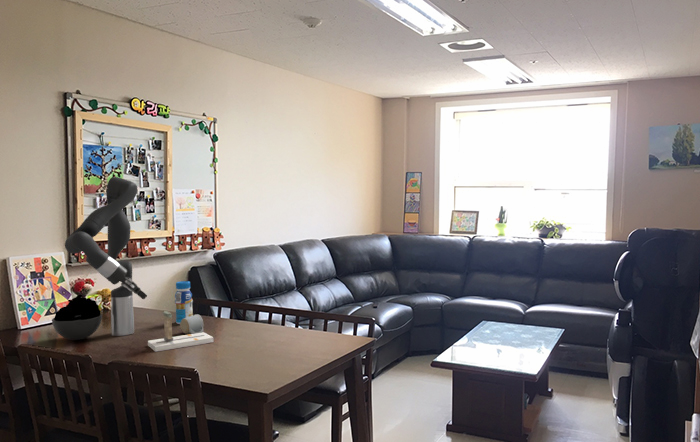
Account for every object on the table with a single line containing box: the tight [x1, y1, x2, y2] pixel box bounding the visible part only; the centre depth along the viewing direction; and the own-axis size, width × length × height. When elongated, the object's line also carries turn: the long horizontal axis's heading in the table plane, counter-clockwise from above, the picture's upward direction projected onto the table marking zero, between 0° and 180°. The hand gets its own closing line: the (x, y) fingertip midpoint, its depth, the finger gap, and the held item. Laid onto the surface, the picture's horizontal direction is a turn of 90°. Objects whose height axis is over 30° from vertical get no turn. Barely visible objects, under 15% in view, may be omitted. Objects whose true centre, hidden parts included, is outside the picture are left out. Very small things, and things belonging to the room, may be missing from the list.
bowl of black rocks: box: [51, 294, 103, 341], centre depth 256 cm, size 20×20×19 cm
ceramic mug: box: [179, 313, 204, 335], centre depth 263 cm, size 11×8×8 cm
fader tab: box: [163, 310, 173, 341], centre depth 241 cm, size 3×6×12 cm, turn 33°
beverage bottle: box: [174, 280, 194, 325], centre depth 285 cm, size 8×8×20 cm
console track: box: [147, 331, 214, 352], centre depth 244 cm, size 24×12×2 cm, turn 123°
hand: (145, 297), depth 236 cm, fingers closed
